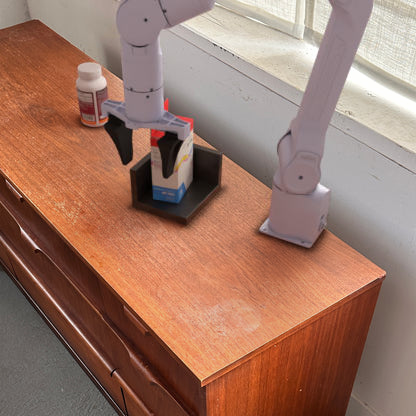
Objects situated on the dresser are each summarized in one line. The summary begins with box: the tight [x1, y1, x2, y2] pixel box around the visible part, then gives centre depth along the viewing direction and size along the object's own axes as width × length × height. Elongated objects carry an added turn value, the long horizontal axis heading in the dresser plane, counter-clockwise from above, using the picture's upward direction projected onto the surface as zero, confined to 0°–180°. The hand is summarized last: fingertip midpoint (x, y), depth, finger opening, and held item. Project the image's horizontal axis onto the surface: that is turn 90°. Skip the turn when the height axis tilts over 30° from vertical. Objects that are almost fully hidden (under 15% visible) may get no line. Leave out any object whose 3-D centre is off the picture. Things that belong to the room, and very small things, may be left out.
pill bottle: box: [75, 61, 109, 128], centre depth 127 cm, size 6×6×11 cm
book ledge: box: [129, 142, 224, 226], centre depth 110 cm, size 11×13×8 cm
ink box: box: [149, 97, 194, 204], centre depth 107 cm, size 8×5×15 cm, turn 164°
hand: (147, 169), depth 100 cm, fingers open, 7 cm apart
